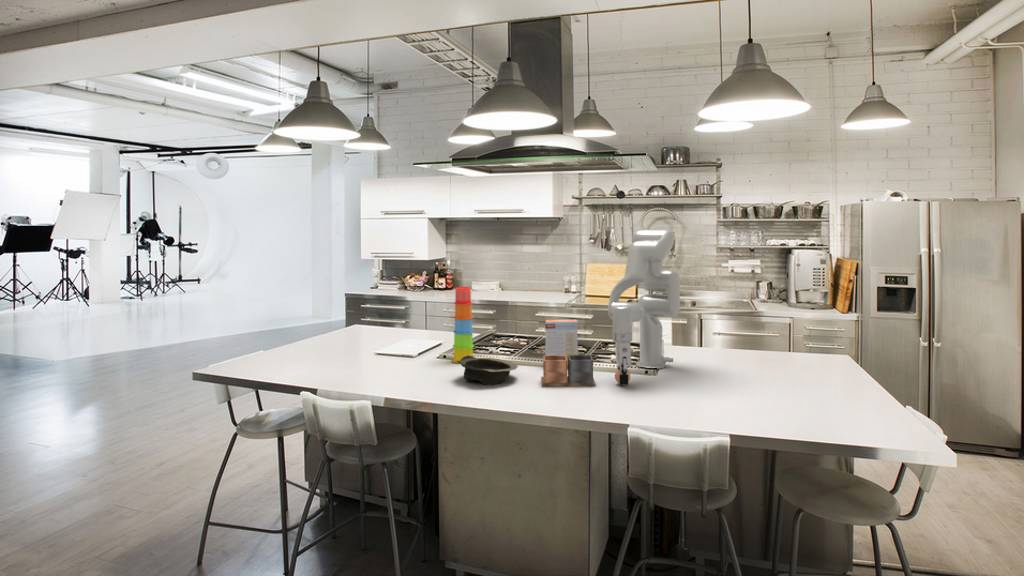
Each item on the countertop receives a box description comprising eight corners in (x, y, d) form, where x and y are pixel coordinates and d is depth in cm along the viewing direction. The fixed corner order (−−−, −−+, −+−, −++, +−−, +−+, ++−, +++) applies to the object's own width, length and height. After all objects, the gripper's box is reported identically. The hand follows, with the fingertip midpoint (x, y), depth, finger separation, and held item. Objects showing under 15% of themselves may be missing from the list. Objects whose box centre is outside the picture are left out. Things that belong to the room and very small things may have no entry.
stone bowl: (444, 381, 247) (445, 359, 246) (484, 373, 266) (485, 352, 266) (491, 390, 232) (492, 366, 231) (530, 381, 251) (530, 358, 251)
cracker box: (577, 365, 271) (577, 319, 268) (577, 368, 265) (577, 321, 262) (546, 365, 272) (545, 319, 270) (545, 368, 266) (545, 321, 264)
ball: (629, 381, 241) (629, 366, 240) (631, 385, 235) (631, 370, 234) (613, 381, 241) (613, 367, 240) (615, 386, 235) (615, 371, 234)
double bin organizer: (592, 378, 248) (592, 354, 246) (595, 386, 237) (595, 360, 236) (541, 379, 248) (540, 354, 247) (541, 386, 237) (541, 361, 236)
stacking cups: (476, 358, 287) (474, 285, 283) (472, 363, 277) (470, 288, 273) (454, 358, 288) (452, 286, 284) (450, 363, 278) (448, 288, 274)
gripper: (636, 341, 227) (636, 388, 229) (628, 332, 244) (628, 376, 246) (615, 341, 227) (616, 388, 230) (609, 332, 244) (610, 376, 247)
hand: (622, 381), depth 238 cm, fingers closed on ball, 5 cm apart
